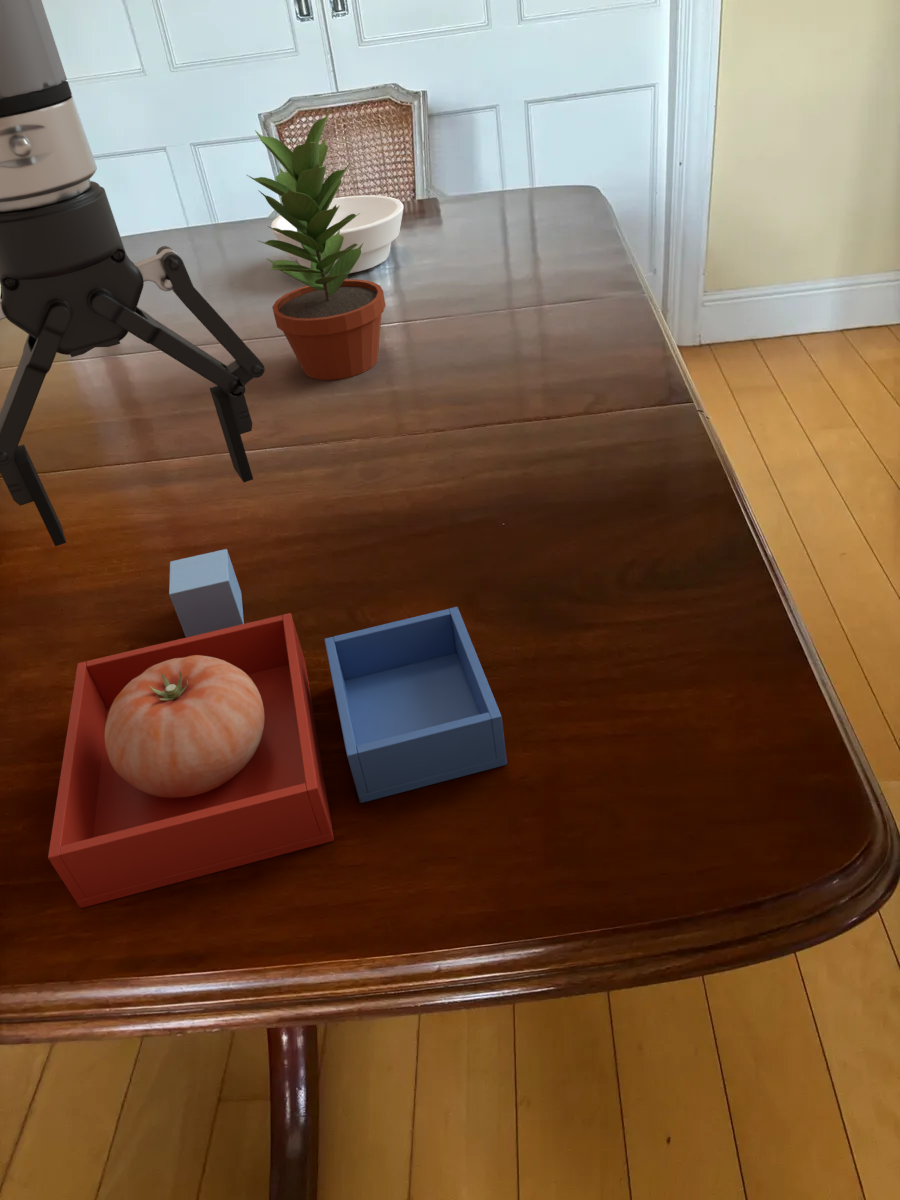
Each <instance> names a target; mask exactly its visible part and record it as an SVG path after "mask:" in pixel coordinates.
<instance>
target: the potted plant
mask: <svg viewBox="0 0 900 1200" xmlns="http://www.w3.org/2000/svg"><path fill="white" fill-rule="evenodd" d="M329 112H330V108H328V111H327V113H326V115H325V117H322V118H320V119H318V120H316V121H315V122H314V123H313V124H312V126H311V127H310V130H309V131H308V134H307V137H306V139H305V141H304V143H301V144H298V145H296V146H295V147H294V148H293V150H292V149H290V148H289V147H288V146H287V145H286V144H285V143H284V142H282V141H281V140H279V139H277V138H276V137H274V136H264V135H261V134H260V133H259V132H258V131H257V130H254V131H255V133H256V134H257V136H258V138H259V140H260V142H261V143H262V144H263V146H265V147H266V149H267V150H268V151H269V152H270V153H271V154H272V155H273V157H275V159H276V160H277V161H278V163H279V164H280V165H282V167H283V168H284V169H285V171H284V170H283V169H282V168H281V167H278V169H279V173H278V174H277V175H276V176H275V180H274V179H272V178H268V177H263V176H260V177H252V176H250V175H248V174H246V176H247V177H248V178H250V179H251V180H253V181H255V182H256V183H258V184H260V185H261V186H263V187H265V188H267V189H268V190H270V191H271V192H273V193H275V194H277V195H278V196H280V197H281V198H280V200H281V202H279V201H278V200H276V198H274V197H272V196H269V195H266V194H265V193H263V192H262V191H260V190H259V189H258V190H257V191H258V192H259V193H260V194H261V195H262V196H263V197H264V198H265V200H266V201H267V204H268V205H269V206H270V207H271V208H272V210H274V211H275V212H276V213H277V214H278V215H279V216H280V215H281V216H282V217H283V218H284V219H286V220H287V221H288V222H289V223H290V224H292V225H293V226H294V227H295V228H297V232H296V231H292V230H281V229H277V228H271V226H269V225H267V227H268V228H269V229H271V230H272V229H273V230H275V231H277V232H279V233H281V234H283V235H285V236H287V237H289V238H291V239H293V240H295V241H298V242H300V243H301V245H302V247H303V249H302V248H300V247H298V246H295V245H292V244H290V243H286V242H283V241H279V240H278V239H269V240H267V241H265V242H264V241H261V240H258V242H259V243H262V244H264V245H267V246H270V247H272V248H275V249H277V250H280V251H283V252H284V253H285V252H288V253H290V254H293V255H296V256H298V257H301V258H304V259H306V260H309V261H311V268H308V267H305V266H302V265H300V264H299V263H298V262H295V261H292V260H287V259H280V260H272V259H269V258H266V260H267V261H269V262H270V263H272V266H271V267H270V268H269V271H270V270H271V271H280V272H282V273H283V274H286V275H287V276H289V277H291V278H293V279H295V280H296V281H298V282H300V283H302V284H304V285H305V286H302V287H298V288H296V289H294V290H291V291H289V292H287V293H285V294H284V295H282V296H280V297H279V298H278V299H276V300H275V301H274V304H273V305H272V307H271V308H272V312H273V316H274V320H275V324H276V328H277V329H279V330H280V331H282V332H283V334H284V336H285V338H286V341H287V342H288V345H289V346H290V348H291V350H292V352H293V354H294V355H295V357H296V359H297V360H298V364H299V365H300V367H301V369H302V371H303V373H304V374H305V375H306V376H308V377H309V378H311V379H315V380H320V381H321V380H323V381H324V380H325V381H333V380H343V379H348V378H352V377H355V376H358V375H361V374H363V373H365V372H367V371H369V370H371V369H372V368H373V367H374V366H375V365H376V364H377V363H378V360H379V349H380V338H381V325H382V314H383V313H384V311H385V308H386V300H385V299H386V298H385V294H384V293H385V292H384V290H383V288H382V286H381V285H380V284H378V283H375V282H374V281H370V280H366V279H365V280H364V279H353V278H351V279H349V278H347V277H348V276H349V274H350V273H349V272H350V271H351V269H352V268H353V266H354V265H355V263H356V262H357V260H358V259H359V257H360V255H361V247H362V245H363V243H364V242H363V243H362V244H361V246H360V247H359V248H357V249H353V248H354V247H356V246H357V244H356V243H355V244H353V245H351V246H349V247H348V248H346V249H345V250H342V251H340V249H341V246H342V243H343V240H344V237H343V236H341V235H339V233H340V229H341V228H342V227H344V226H345V225H346V224H347V223H349V222H350V221H351V220H352V219H354V218H355V217H356V216H357V215H355V214H351V215H349V216H347V217H346V218H344V219H343V220H341V221H340V222H339V223H336V224H334V225H333V226H331V227H329V228H328V226H329V224H330V222H331V220H332V219H333V217H334V215H335V213H336V212H337V210H338V208H339V206H340V205H339V206H338V207H336V205H335V206H334V207H333V208H332V209H329V210H328V208H329V206H330V204H331V202H332V200H333V198H335V196H336V194H337V192H338V190H339V188H340V186H341V184H342V182H343V181H342V178H343V176H344V175H345V173H346V171H347V170H348V168H349V166H350V164H351V162H349V163H348V164H347V165H346V167H345V168H344V169H339V170H335V171H333V172H331V173H330V174H329V175H328V176H327V177H326V179H325V175H326V170H327V165H324V163H325V160H326V157H327V154H328V151H329V145H327V144H326V137H324V138H323V140H322V142H321V143H320V140H321V137H322V135H323V131H324V128H325V126H326V123H327V120H328V116H329ZM319 143H320V144H319ZM324 179H325V180H324ZM359 214H360V213H359ZM359 214H358V215H359ZM327 228H328V229H327ZM337 231H338V232H337ZM336 232H337V234H336V235H334V234H335V233H336ZM332 235H333V236H332ZM338 258H339V259H338ZM337 259H338V260H337ZM336 260H337V262H336V263H335V261H336ZM334 263H335V264H334ZM333 265H334V266H333ZM328 273H329V274H328ZM327 274H328V276H325V275H327Z"/></svg>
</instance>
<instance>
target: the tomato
mask: <svg viewBox="0 0 900 1200" xmlns="http://www.w3.org/2000/svg"><path fill="white" fill-rule="evenodd" d="M263 729H264V707H263V702H262V699H261V695H260V693H259V691H258V689H257V687H256V685H255V684H254V683H253V681H252V680H251V678H250V677H249V676H248V675H247V674H246V673H245V672H244V671H242V670H241V669H239V668H237V667H236V666H234V665H232V664H230V663H228V662H226V661H224V660H221V659H217V658H213V657H208V656H201V655H193V656H188V657H184V658H174V659H170V660H167V661H164V662H161V663H159V664H156V665H153V666H152V667H150V668H148V669H147V670H145V671H144V672H143V673H142V674H141V675H139V676H138V677H136V678H134V679H133V680H131V681H130V682H129V683H128V684H127V685H126V686H125V687H124V688H123V690H122V691H121V692H120V693H119V694H118V696H117V697H116V698H115V700H114V702H113V704H112V706H111V708H110V711H109V714H108V717H107V721H106V725H105V746H106V751H107V754H108V757H109V760H110V763H111V765H112V767H113V768H114V770H115V771H116V772H117V774H118V775H119V776H121V777H122V778H123V779H124V780H125V781H126V782H128V783H129V784H131V785H132V786H134V787H135V788H137V789H139V790H140V791H143V792H145V793H147V794H150V795H154V796H159V797H168V798H177V797H189V796H195V795H198V794H201V793H205V792H208V791H210V790H212V789H214V788H217V787H219V786H221V785H222V784H224V783H225V782H227V781H228V780H230V779H231V778H233V777H234V776H235V775H236V774H237V773H238V772H239V771H241V770H242V769H243V768H244V767H245V766H246V764H247V763H248V762H249V761H250V759H251V758H252V756H253V755H254V753H255V752H256V750H257V748H258V746H259V743H260V740H261V738H262V734H263Z"/></svg>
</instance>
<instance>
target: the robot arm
mask: <svg viewBox="0 0 900 1200" xmlns="http://www.w3.org/2000/svg"><path fill="white" fill-rule="evenodd" d="M64 68H65V67H64V66H63V62H62V59H61V56H60V53H59V50H58V47H57V44H56V41H55V37H54V35H53V32H52V29H51V25H50V22H49V19H48V16H47V13H46V10H45V6H44V4H43V0H0V321H2V320H5V319H7V320H8V321H9V322H10V323H11V324H12V325H14V326H16V327H17V328H18V329H20V330H22V331H23V332H25V333H26V334H28V335H27V337H26V339H25V343H24V346H23V349H22V353H21V357H20V360H19V363H18V365H17V367H16V370H15V373H14V376H13V378H12V380H11V383H10V386H9V389H8V391H7V394H6V397H5V399H4V401H3V404H2V407H1V409H0V475H1V477H2V479H3V481H4V483H5V486H6V487H7V490H8V492H9V494H10V496H11V498H12V499H13V501H14V502H15V503H16V504H17V505H19V506H20V507H22V506H24V505H26V504H30V503H34V505H35V507H36V509H37V511H38V513H39V515H40V517H41V520H42V521H43V523H44V526H45V528H46V531H47V532H48V535H49V536H50V539H51V540H52V543H53V545H54V547H58V546H62V545H64V544H67V540H66V536H65V533H64V530H63V526H62V523H61V521H60V519H59V517H58V515H57V513H56V510H55V508H54V506H53V504H52V501H51V499H50V497H49V495H48V493H47V491H46V489H45V487H44V484H43V482H42V480H41V478H40V476H39V474H38V471H37V470H36V466H35V465H34V463H33V460H32V458H31V457H30V454H29V452H28V450H27V447H26V445H25V444H20V442H21V439H22V436H23V434H24V432H25V429H26V426H27V423H28V421H29V418H30V417H31V414H32V411H33V408H34V406H35V403H36V401H37V399H38V396H39V394H40V391H41V388H42V386H43V383H44V382H45V378H46V376H47V374H48V373H49V372H50V370H51V367H52V365H53V363H54V360H55V358H56V356H57V354H60V355H63V356H64V355H65V356H70V357H71V358H74V357H78V356H81V355H84V354H87V353H88V352H89V351H91V350H93V349H94V348H110V347H113V346H118V345H121V341H122V340H123V339H125V337H126V336H127V335H128V333H130V334H131V335H133V336H135V337H136V338H138V339H139V340H141V341H143V342H145V343H146V344H148V345H151V346H152V347H154V348H156V349H158V350H159V351H161V352H163V353H164V354H166V355H168V356H169V357H170V358H172V359H174V360H175V361H177V362H178V363H180V364H182V365H184V366H185V367H186V368H188V369H190V370H192V371H193V372H195V373H196V374H197V375H199V376H201V377H203V378H204V379H206V380H208V381H209V382H210V383H212V384H214V385H216V386H212V387H209V391H210V395H211V398H212V402H213V405H214V409H215V411H216V415H217V418H218V421H219V424H220V427H221V431H222V433H223V437H224V440H225V444H226V447H227V450H228V453H229V456H230V460H231V463H232V466H233V469H234V471H235V472H236V474H237V475H238V477H239V478H240V480H241V481H242V482H243V483H247V482H250V481H253V480H254V476H253V473H252V469H251V465H250V463H249V458H248V456H247V453H246V449H245V446H244V441H243V440H242V436H241V435H243V434H246V433H250V432H252V429H253V421H252V417H251V413H250V411H249V410H250V409H249V407H248V403H247V400H246V396H245V393H246V389H247V387H246V385H247V384H248V383H249V382H250V381H252V380H253V379H258V378H261V377H262V376H263V375H264V373H265V371H266V369H265V365H264V363H263V362H262V361H261V360H260V359H259V358H258V356H256V354H255V353H254V352H253V351H252V350H251V349H250V347H248V345H247V344H246V343H245V342H244V341H243V340H242V339H241V337H239V335H238V334H237V333H236V332H235V331H234V329H233V328H232V327H231V326H229V324H228V323H227V322H226V321H225V320H224V319H223V318H222V316H220V314H219V313H218V311H216V309H214V308H213V306H212V305H211V304H210V303H209V302H208V301H207V299H206V298H205V297H204V296H203V295H202V294H201V293H200V292H199V291H198V290H197V288H196V287H195V286H194V284H193V282H192V280H191V277H190V275H189V273H188V270H187V267H186V265H185V263H184V260H183V259H182V257H180V256H179V254H178V253H177V252H176V251H175V250H174V249H173V248H172V247H170V246H167V245H164V246H163V245H162V246H160V247H159V248H157V250H156V254H155V255H153V256H150V257H147V258H145V259H142V260H139V261H137V262H133V261H132V260H131V259H130V258H129V256H128V254H127V252H126V249H125V246H124V243H123V240H122V238H121V237H122V236H121V234H120V231H119V228H118V225H117V222H116V219H115V216H114V213H113V210H112V208H111V204H110V202H109V198H108V195H107V192H106V190H105V188H104V187H103V186H101V185H100V184H99V183H98V182H96V181H94V180H91V178H92V177H94V175H95V174H96V172H97V170H98V167H97V164H96V160H95V158H94V155H93V152H92V149H91V146H90V144H89V143H90V142H89V140H88V138H87V134H86V131H85V128H84V125H83V123H82V120H81V117H80V114H79V111H78V108H77V106H76V105H77V104H76V102H75V99H74V96H73V93H72V90H71V87H70V84H69V82H68V81H67V80H68V78H67V76H66V72H65V69H64ZM146 282H151V283H154V284H155V285H156V287H158V289H160V290H161V291H163V292H171V291H172V292H173V293H174V294H175V295H176V296H177V298H178V299H179V300H180V302H181V303H182V304H183V305H184V306H185V307H186V308H187V309H188V310H189V311H190V312H191V314H192V315H193V316H194V317H195V318H196V319H197V320H198V321H199V322H200V323H201V324H202V326H204V327H205V329H207V331H208V332H209V333H210V334H211V335H212V336H213V337H214V338H215V339H216V340H217V342H218V343H219V344H220V345H221V346H222V347H223V348H224V349H225V350H226V351H227V353H229V354H230V356H231V357H232V358H233V359H234V360H233V361H232V362H231V363H229V364H228V365H227V364H225V363H223V362H222V361H221V360H219V359H217V358H216V357H215V356H213V355H211V354H209V353H208V352H207V351H205V350H204V349H202V348H201V347H198V346H197V345H195V344H194V343H192V342H191V341H189V340H188V339H187V338H184V337H183V336H182V335H180V334H178V333H177V332H175V331H174V330H172V329H171V328H169V327H168V326H167V325H165V324H163V323H161V322H160V321H158V320H157V319H155V318H154V317H153V316H151V315H150V314H148V313H147V312H146V311H144V310H143V309H141V308H140V307H138V305H139V302H140V299H141V295H142V292H143V289H144V285H145V284H144V283H146ZM19 444H20V445H19Z"/></svg>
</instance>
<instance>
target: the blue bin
mask: <svg viewBox="0 0 900 1200" xmlns="http://www.w3.org/2000/svg"><path fill="white" fill-rule="evenodd" d="M324 644H325V651H326V655H327V660H328V661H327V662H328V666H329V671H330V677H331V681H332V687H333V691H334V696H335V702H336V707H337V711H338V717H339V722H340V727H341V733H342V737H343V743H344V749H345V753H346V757H347V761H348V766H349V769H350V772H351V776H352V780H353V784H354V786H355V787H354V788H355V791H356V794H357V797H358V802H359V803H360V804H363V803H367V802H372V801H375V800H378V799H381V798H385V797H390V796H393V795H397V794H401V793H405V792H409V791H412V790H417V789H420V788H423V787H428V786H431V785H435V784H439V783H443V782H446V781H451V780H455V779H458V778H462V777H465V776H469V775H473V774H477V773H481V772H485V771H489V770H492V769H496V768H500V767H504V766H507V764H508V761H507V759H508V758H507V752H506V751H507V750H506V743H505V733H504V724H503V717H502V713H501V712H500V709H499V706H498V703H497V701H496V699H495V697H494V694H493V691H492V689H491V687H490V684H489V682H488V679H487V677H486V674H485V672H484V669H483V667H482V664H481V662H480V659H479V657H478V654H477V652H476V649H475V647H474V644H473V642H472V639H471V637H470V634H469V632H468V629H467V627H466V625H465V622H464V619H463V617H462V614H461V611H460V610H459V607H458V606H454V607H450V608H446V609H442V610H437V611H433V612H429V613H425V614H421V615H417V616H413V617H408V618H404V619H401V620H395V621H392V622H388V623H384V624H381V625H380V624H379V625H376V626H371V627H367V628H363V629H359V630H355V631H350V632H347V633H342V634H338V635H334V636H330V637H325V638H324Z"/></svg>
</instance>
